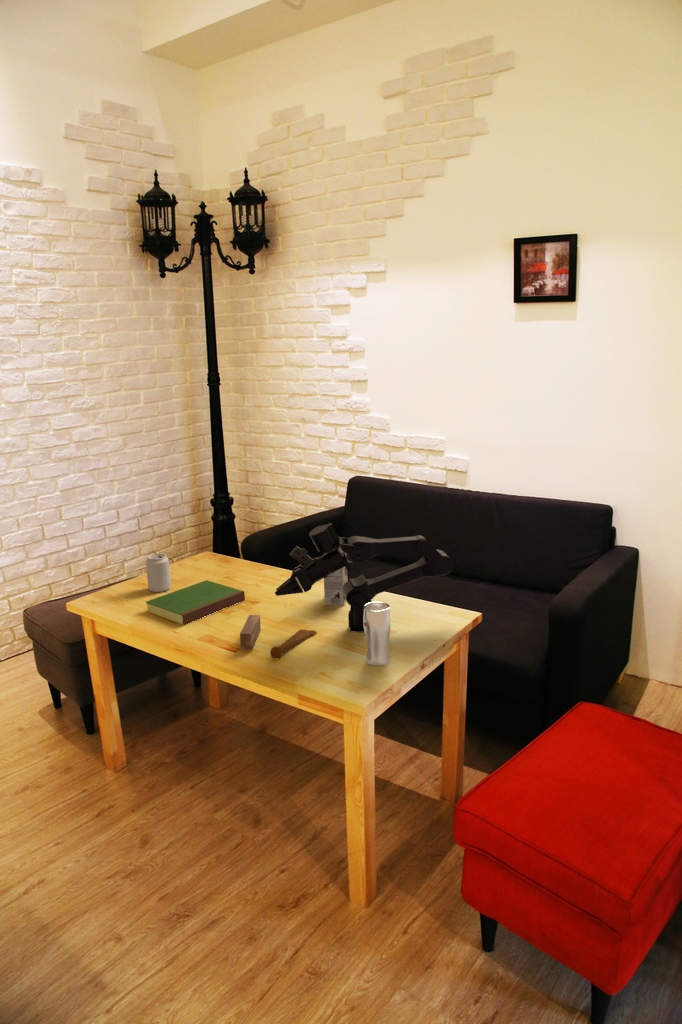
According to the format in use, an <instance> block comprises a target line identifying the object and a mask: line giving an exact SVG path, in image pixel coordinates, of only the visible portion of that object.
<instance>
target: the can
mask: <svg viewBox="0 0 682 1024" xmlns="http://www.w3.org/2000/svg"><path fill="white" fill-rule="evenodd" d="M146 558H147V559H146V561H145V569H146V579H147V586H148V590H150V591H151V592H152V593H164V592H167V591H169V590H170V588H171V587H172V580H171V571H170V561H169V560H170V559H169V558H168V557H167V555H166V553H153V554H149V555H148V556H147V557H146ZM166 590H167V591H166ZM163 591H164V592H163Z"/></svg>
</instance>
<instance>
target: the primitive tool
mask: <svg viewBox="0 0 682 1024" xmlns="http://www.w3.org/2000/svg"><path fill="white" fill-rule="evenodd" d="M317 633H318V631H316V630H313V629H310V630H309V629H308V630H307V629H299V630H298V631H297V632H295V633H294V634H293V635H292V636H290V637H289V638H288V639H286V640H285V641H284V642H282V643H281V644H279V645H278V646H273V647H271V649H270V651H269V652H270V656H271V658H273V657H274V659H277V658H279V659H282V657H283V654H285V653H287V652H288V651H290V650H292V649H293V648H295V647H296V646H298V645H299V644H301V643H303V642H305V641H306V640H308V639H309V638H311V637H314V636H315V635H317Z"/></svg>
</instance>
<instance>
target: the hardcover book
mask: <svg viewBox="0 0 682 1024" xmlns="http://www.w3.org/2000/svg"><path fill="white" fill-rule="evenodd" d="M245 597H246V595H245V591H244V590H241V589H238V588H234V587H231V586H229V585H228V586H227V585H224V584H221V583H219V582H218V583H217V582H214V581H211V580H208V579H205V580H202V581H200V582H197V583H195V584H191V585H189V586H186V587H183V588H180V589H177V590H175V591H173V592H169V593H167V594H163V595H161V596H158V597H155V598H152V599H149V600H146V601H145V604H146V606H147V607H146V608H147V613H151V614H154V615H157V616H160V617H162V618H164V619H167V620H170V621H173V622H175V623H178V624H180V623H181V625H183V626H187V625H189V624H191V623H193V622H192V621H194V622H196V621H198V620H197V619H199V620H201V619H203V618H202V617H204V616H206V617H208V616H207V615H209V614H211V615H213V614H212V613H214V612H216V611H219V610H221V609H223V608H226V607H228V608H230V607H229V606H231V607H233V606H235V605H234V604H236V603H238V604H240V603H239V602H241V603H243V602H245V601H246V598H245ZM244 600H245V601H244ZM242 601H243V602H242ZM232 605H233V606H232ZM236 605H237V604H236ZM226 609H227V608H226ZM221 611H222V610H221ZM219 612H220V611H219ZM216 613H217V612H216ZM214 614H215V613H214ZM209 616H210V615H209ZM200 618H201V619H200ZM204 618H205V617H204ZM195 620H196V621H195ZM190 622H191V623H190ZM188 623H189V624H188ZM186 624H187V625H186Z"/></svg>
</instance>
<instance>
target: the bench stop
mask: <svg viewBox="0 0 682 1024" xmlns="http://www.w3.org/2000/svg"><path fill="white" fill-rule="evenodd" d="M261 629H262V628H261V614H249V615H248V616H247V619H246V621H245V622H244V625H243V627H242V629H241V631H240V632H239V642H240V651H241V650H252V649H253V650H254V648H253V647H255V646H256V643H257V641H258V639H257V638H259V636H260V634H261V632H260V631H262V630H261ZM259 633H260V634H259ZM256 640H257V641H256ZM255 642H256V643H255ZM253 650H252V651H253Z"/></svg>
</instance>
